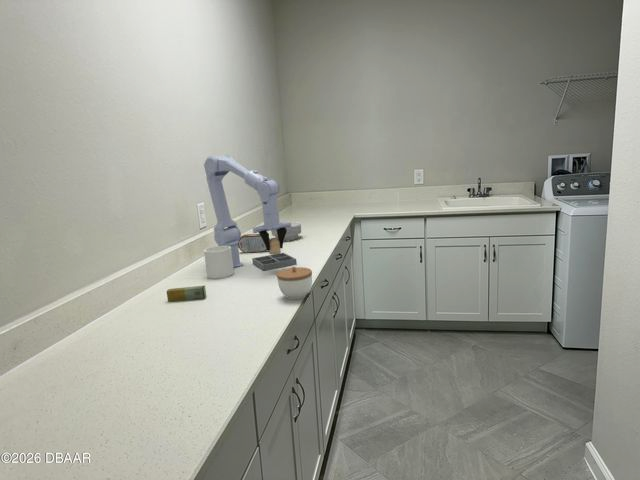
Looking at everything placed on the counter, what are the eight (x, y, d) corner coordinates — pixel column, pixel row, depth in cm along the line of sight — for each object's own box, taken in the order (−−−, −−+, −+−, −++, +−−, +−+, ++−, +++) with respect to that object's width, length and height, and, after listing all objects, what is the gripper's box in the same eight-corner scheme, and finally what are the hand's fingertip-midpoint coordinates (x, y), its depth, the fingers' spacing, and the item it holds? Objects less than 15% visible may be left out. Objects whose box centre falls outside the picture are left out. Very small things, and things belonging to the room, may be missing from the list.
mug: (226, 279, 156) (222, 252, 153) (202, 278, 159) (198, 252, 156) (241, 269, 167) (238, 244, 165) (219, 269, 170) (216, 244, 168)
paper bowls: (301, 241, 210) (299, 225, 208) (270, 243, 211) (268, 227, 209) (302, 235, 225) (301, 220, 223) (274, 237, 225) (272, 222, 224)
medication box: (207, 296, 138) (205, 285, 137) (205, 299, 136) (203, 287, 135) (170, 300, 138) (168, 288, 137) (167, 303, 135) (165, 290, 134)
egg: (271, 254, 157) (269, 239, 156) (267, 252, 161) (265, 237, 160) (282, 252, 159) (281, 237, 158) (278, 250, 163) (277, 236, 162)
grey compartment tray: (263, 270, 162) (262, 265, 162) (252, 263, 175) (252, 258, 174) (296, 264, 168) (296, 258, 168) (284, 257, 180) (283, 252, 180)
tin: (271, 250, 195) (270, 232, 193) (270, 252, 192) (268, 234, 190) (240, 252, 197) (237, 234, 195) (238, 254, 194) (235, 236, 192)
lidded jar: (282, 304, 125) (279, 274, 123) (276, 293, 135) (273, 265, 133) (317, 298, 128) (315, 268, 126) (309, 288, 138) (306, 260, 136)
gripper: (255, 217, 151) (259, 254, 153) (293, 211, 156) (296, 247, 159) (249, 215, 157) (253, 250, 160) (286, 210, 163) (289, 244, 166)
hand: (274, 249), depth 160 cm, fingers closed on egg, 4 cm apart
